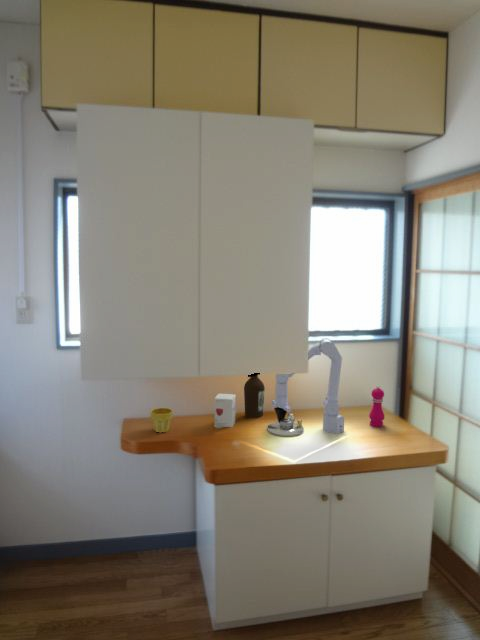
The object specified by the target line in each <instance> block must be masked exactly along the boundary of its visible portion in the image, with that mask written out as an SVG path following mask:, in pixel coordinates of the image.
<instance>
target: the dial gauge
mask: <svg viewBox="0 0 480 640" xmlns="http://www.w3.org/2000/svg"><path fill="white" fill-rule="evenodd" d="M286 417H287V419H290V420H293V422H294V421H295V415H294V414H293V413H291V412H289V413H287V416H286Z"/></svg>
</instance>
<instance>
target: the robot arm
mask: <svg viewBox="0 0 480 640" xmlns="http://www.w3.org/2000/svg"><path fill="white" fill-rule="evenodd" d="M308 350H309V351H308ZM308 350H307V351H308V361H309V360H311V359H312V358H313V357H314V356H322V354H323V355H324V356H326V357H328V359H330V361H331V362H330V368H329V369H330V370H329V378H328V385H327V386H328V387H327V393H326V397H325V398H324V400H323V406H324V411H323V413H322V430H323V431H324V432H328V433H332V434H335V435H338V434H340V433H342V432H344V431H345V417H344V416H342V415H340V406H339V404H338V403H339V388H340V381H341V380H340V378H341V370H342V364H343V363H342V361H343V357H342V355H341V353H340V352H339V350H338V348H337V346H336V344H335V343H334V342H333V341H332V340H331V339H329V338H322V339H321V340H320V341H318V342H316V343H314V344H313V345H312V346H311V347H310V348H309V349H308ZM295 374H296V373H291V374H276V373H275V399H272V400H271V404H272V405H273V406H272V407H274V412H275V414H276V417H277V422H279V423H280V420H281V419H285V418H286V415H287V414H289V413H291V412H292V408H291V407H290V406H289V403H288V398H289V397H288V394H289V392H288V390H289V389H288V387H289V386H288V381H289V378H292V377H293V376H294V375H295Z"/></svg>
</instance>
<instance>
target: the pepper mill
mask: <svg viewBox="0 0 480 640" xmlns="http://www.w3.org/2000/svg"><path fill="white" fill-rule="evenodd" d="M371 396H372V398H371V401H372V408H371V409H370V412H369V415H368V418H369V419H370V420H369V425H370V426H371V427H375V428H381V427H384V419H385V412H384V410H383V407H382V403H383V400H384V397H385V392H384V390H383V389H381V386H380V385H376V387H375V388H373V390H371Z"/></svg>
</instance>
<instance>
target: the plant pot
mask: <svg viewBox="0 0 480 640" xmlns="http://www.w3.org/2000/svg"><path fill="white" fill-rule="evenodd" d="M173 414H174V410H173V409H172V408H169V407H157V408H153V409H151V410H150V419H151V421H152V426H153V429H154V430H155V431H156V432H166V431H168V430H169V431H170V426H171V421H172V419H173V417H174V415H173ZM155 431H154V432H155ZM169 431H168V432H169ZM156 432H155V433H156ZM166 433H167V432H166Z"/></svg>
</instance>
